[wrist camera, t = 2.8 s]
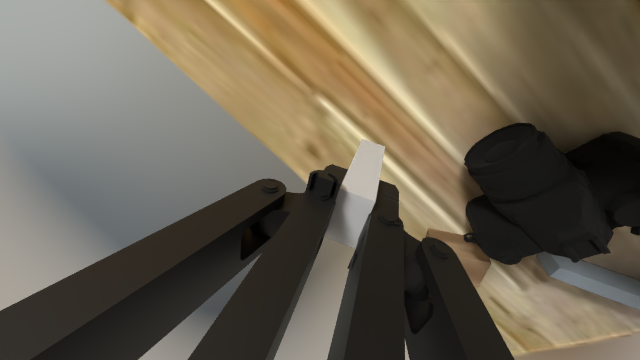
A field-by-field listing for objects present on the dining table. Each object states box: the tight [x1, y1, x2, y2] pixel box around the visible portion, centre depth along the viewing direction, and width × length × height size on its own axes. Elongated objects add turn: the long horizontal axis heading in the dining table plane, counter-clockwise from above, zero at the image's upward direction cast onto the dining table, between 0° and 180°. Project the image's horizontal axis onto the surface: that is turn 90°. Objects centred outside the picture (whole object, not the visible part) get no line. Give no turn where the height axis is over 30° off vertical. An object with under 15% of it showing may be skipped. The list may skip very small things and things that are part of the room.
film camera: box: [463, 123, 640, 265], centre depth 20 cm, size 15×10×9 cm, turn 136°
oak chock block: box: [425, 228, 491, 287], centre depth 29 cm, size 4×6×4 cm, turn 88°
